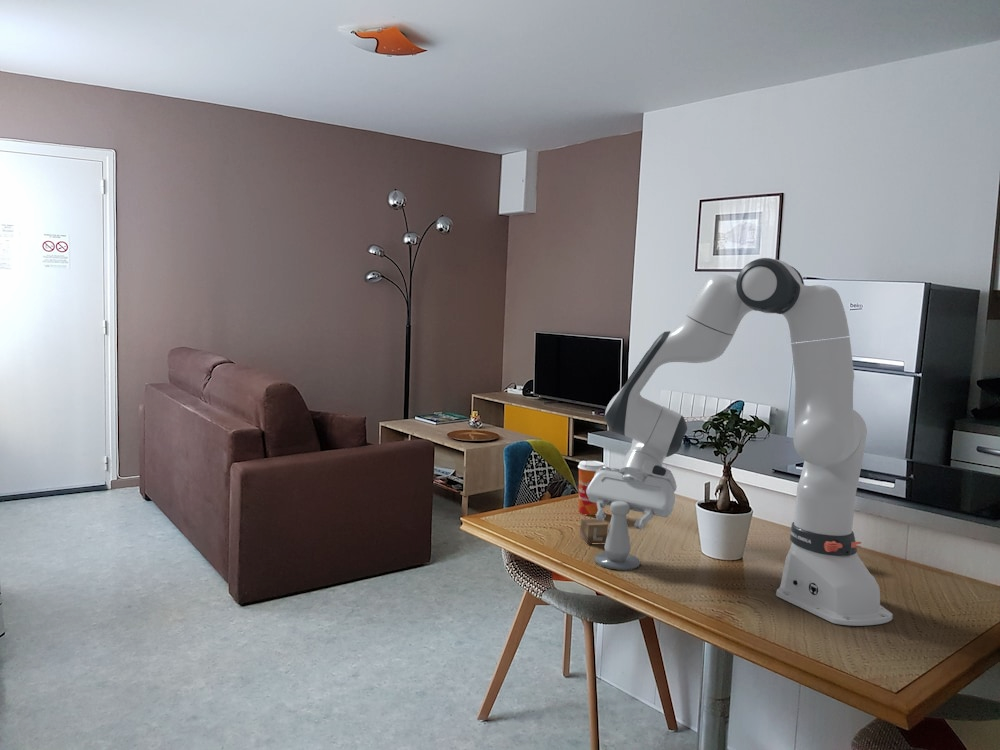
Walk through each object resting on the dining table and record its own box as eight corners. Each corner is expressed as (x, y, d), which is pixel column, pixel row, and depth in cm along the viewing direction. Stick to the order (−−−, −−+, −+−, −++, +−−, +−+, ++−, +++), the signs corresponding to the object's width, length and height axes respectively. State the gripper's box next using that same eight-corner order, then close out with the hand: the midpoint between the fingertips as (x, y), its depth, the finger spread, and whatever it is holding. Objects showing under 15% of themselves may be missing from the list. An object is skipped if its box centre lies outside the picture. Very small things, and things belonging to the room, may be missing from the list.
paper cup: (571, 508, 214) (574, 459, 212) (598, 508, 215) (601, 459, 214) (579, 517, 206) (582, 466, 205) (606, 516, 208) (610, 466, 206)
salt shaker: (629, 555, 174) (633, 500, 173) (630, 564, 169) (634, 506, 167) (603, 553, 175) (607, 497, 174) (603, 561, 170) (607, 504, 168)
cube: (606, 544, 184) (608, 524, 184) (587, 545, 183) (588, 525, 183) (598, 537, 189) (599, 518, 189) (579, 538, 188) (580, 518, 188)
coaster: (647, 569, 169) (647, 565, 168) (605, 571, 166) (605, 568, 166) (627, 553, 178) (627, 550, 178) (587, 556, 175) (588, 552, 175)
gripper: (595, 458, 181) (573, 506, 174) (677, 472, 170) (657, 525, 163) (602, 473, 185) (581, 521, 178) (683, 488, 174) (664, 540, 167)
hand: (618, 523), depth 170 cm, fingers open, 8 cm apart
